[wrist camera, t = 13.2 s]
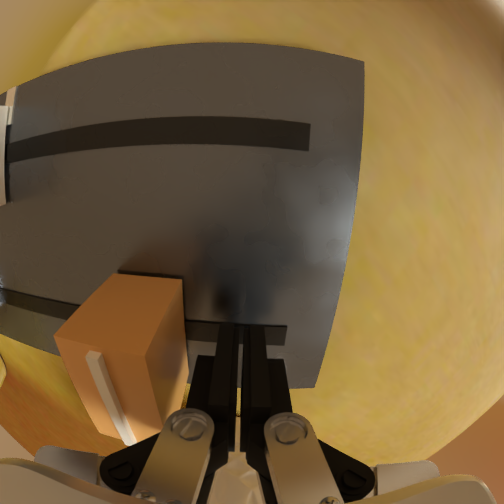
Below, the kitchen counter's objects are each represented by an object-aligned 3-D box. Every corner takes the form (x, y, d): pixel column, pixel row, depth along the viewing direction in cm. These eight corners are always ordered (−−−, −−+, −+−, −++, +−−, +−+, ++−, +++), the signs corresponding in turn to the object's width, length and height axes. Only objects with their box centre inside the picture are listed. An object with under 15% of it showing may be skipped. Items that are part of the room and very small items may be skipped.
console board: (350, 71, 9) (377, 52, 6) (309, 369, 14) (318, 404, 11) (-21, 115, 8) (-48, 116, 6) (4, 320, 13) (-16, 338, 11)
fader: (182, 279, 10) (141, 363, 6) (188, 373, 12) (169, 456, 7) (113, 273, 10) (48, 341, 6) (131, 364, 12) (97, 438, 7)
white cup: (161, 432, 16) (136, 541, 7) (230, 394, 15) (222, 551, 5) (236, 466, 18) (234, 560, 9) (308, 436, 17) (327, 549, 7)
